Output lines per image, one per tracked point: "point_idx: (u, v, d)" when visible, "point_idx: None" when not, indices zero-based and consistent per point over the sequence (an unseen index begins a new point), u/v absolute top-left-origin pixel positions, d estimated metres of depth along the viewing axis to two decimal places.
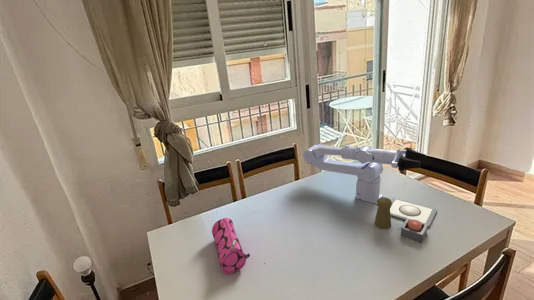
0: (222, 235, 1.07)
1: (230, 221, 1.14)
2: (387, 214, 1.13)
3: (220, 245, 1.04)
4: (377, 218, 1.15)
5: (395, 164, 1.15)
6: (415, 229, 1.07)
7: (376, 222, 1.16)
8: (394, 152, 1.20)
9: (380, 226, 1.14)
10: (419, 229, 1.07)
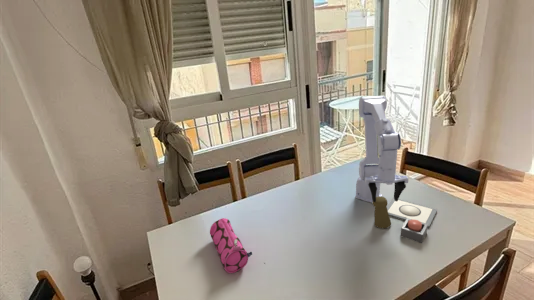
0: (222, 235, 1.06)
1: (228, 221, 1.14)
2: (384, 213, 1.13)
3: (221, 245, 1.04)
4: (375, 218, 1.15)
5: (365, 182, 1.10)
6: (415, 229, 1.07)
7: (375, 222, 1.16)
8: (386, 178, 1.06)
9: (379, 225, 1.14)
10: (419, 229, 1.07)
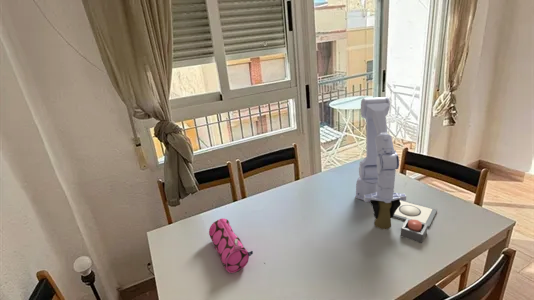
0: (222, 235, 1.06)
1: (227, 221, 1.14)
2: (387, 214, 1.13)
3: (221, 245, 1.04)
4: (377, 218, 1.15)
5: (364, 200, 1.13)
6: (415, 229, 1.07)
7: (376, 222, 1.16)
8: (384, 197, 1.09)
9: (380, 226, 1.14)
10: (419, 229, 1.07)
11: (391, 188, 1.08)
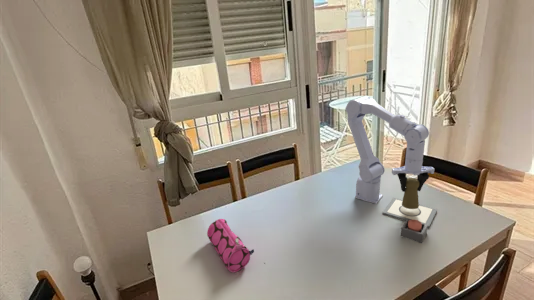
0: (221, 235, 1.06)
1: (225, 221, 1.14)
2: (414, 194, 1.15)
3: (221, 245, 1.04)
4: (404, 198, 1.18)
5: (392, 173, 1.15)
6: (415, 229, 1.07)
7: (403, 202, 1.19)
8: (413, 169, 1.12)
9: (407, 206, 1.17)
10: (419, 229, 1.07)
11: (420, 160, 1.11)
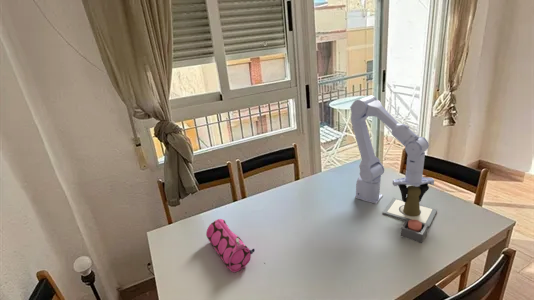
0: (221, 235, 1.06)
1: (224, 221, 1.14)
2: (415, 202, 1.17)
3: (221, 246, 1.04)
4: (405, 205, 1.19)
5: (393, 184, 1.18)
6: (415, 229, 1.07)
7: (404, 209, 1.20)
8: (413, 181, 1.14)
9: (408, 213, 1.19)
10: (419, 229, 1.07)
11: (420, 172, 1.13)
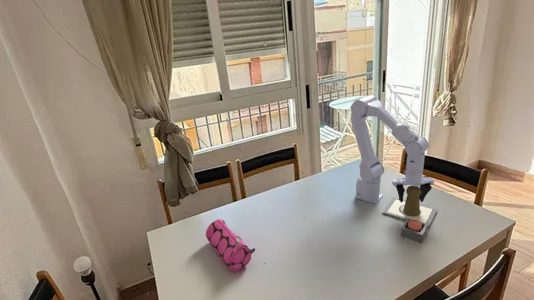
0: (221, 236, 1.06)
1: (223, 222, 1.14)
2: (416, 202, 1.17)
3: (221, 246, 1.04)
4: (406, 205, 1.19)
5: (393, 184, 1.18)
6: (415, 229, 1.07)
7: (404, 209, 1.20)
8: (413, 181, 1.14)
9: (408, 213, 1.19)
10: (419, 229, 1.07)
11: (420, 172, 1.13)
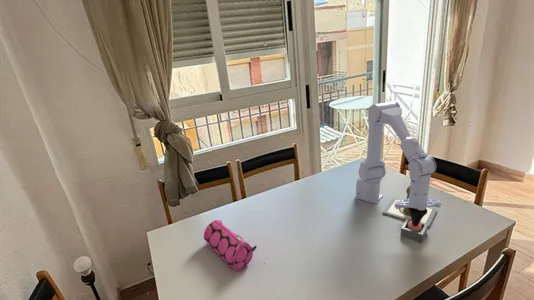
0: (221, 236, 1.06)
1: (221, 222, 1.13)
2: None
3: (222, 246, 1.04)
4: None
5: (395, 207, 1.06)
6: (415, 230, 1.07)
7: (404, 209, 1.20)
8: (418, 204, 1.02)
9: (408, 213, 1.19)
10: (419, 230, 1.07)
11: (425, 194, 1.01)
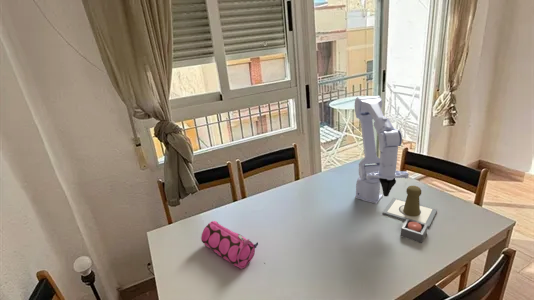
0: (220, 236, 1.06)
1: (217, 223, 1.13)
2: (416, 202, 1.17)
3: (223, 246, 1.04)
4: (406, 205, 1.19)
5: (367, 178, 1.14)
6: None
7: (404, 209, 1.20)
8: (387, 174, 1.10)
9: (408, 213, 1.19)
10: (419, 231, 1.07)
11: (393, 165, 1.09)
